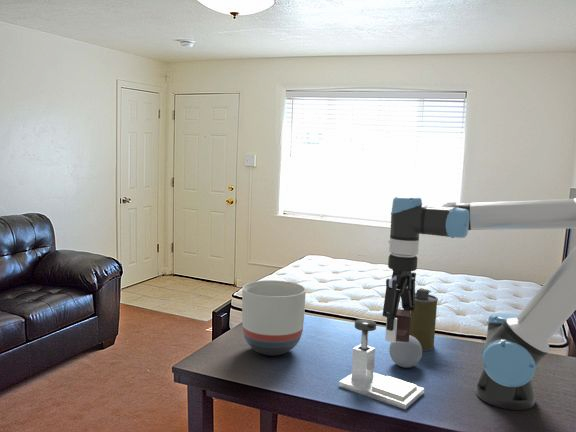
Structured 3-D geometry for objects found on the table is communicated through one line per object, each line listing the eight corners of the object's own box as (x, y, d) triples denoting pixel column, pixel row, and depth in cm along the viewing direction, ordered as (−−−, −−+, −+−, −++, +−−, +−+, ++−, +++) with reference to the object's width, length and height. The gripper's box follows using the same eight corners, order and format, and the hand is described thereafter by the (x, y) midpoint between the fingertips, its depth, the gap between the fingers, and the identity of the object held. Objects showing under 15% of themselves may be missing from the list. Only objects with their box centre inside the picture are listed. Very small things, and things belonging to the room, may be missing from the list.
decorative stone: (424, 364, 161) (426, 333, 160) (416, 375, 153) (418, 343, 152) (393, 357, 166) (395, 327, 165) (384, 368, 157) (386, 336, 156)
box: (409, 343, 135) (411, 316, 134) (385, 340, 136) (387, 314, 135) (408, 335, 141) (410, 309, 140) (386, 333, 142) (387, 307, 141)
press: (423, 393, 141) (426, 357, 140) (405, 409, 132) (408, 370, 130) (360, 372, 153) (362, 339, 152) (339, 386, 144) (340, 350, 142)
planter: (307, 343, 175) (309, 283, 173) (297, 367, 155) (300, 299, 153) (249, 338, 179) (251, 278, 176) (233, 360, 159) (234, 293, 156)
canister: (438, 344, 179) (442, 289, 177) (429, 353, 170) (433, 295, 168) (408, 337, 185) (411, 284, 183) (397, 346, 176) (401, 289, 174)
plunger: (377, 367, 146) (380, 322, 144) (367, 374, 141) (369, 327, 140) (358, 362, 150) (361, 317, 148) (348, 368, 145) (350, 322, 143)
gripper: (406, 247, 146) (400, 324, 149) (372, 257, 129) (366, 343, 132) (431, 251, 141) (425, 330, 144) (399, 262, 125) (393, 351, 128)
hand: (397, 337), depth 138 cm, fingers closed on box, 8 cm apart
